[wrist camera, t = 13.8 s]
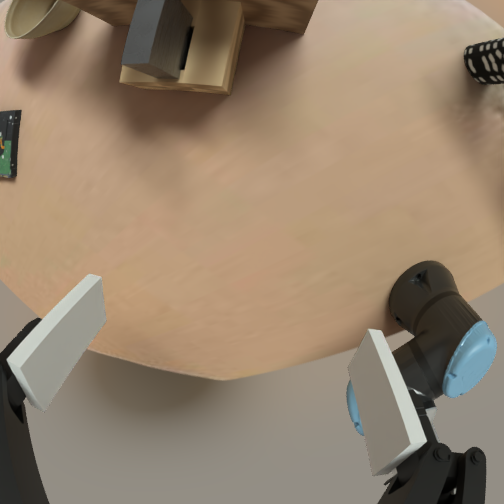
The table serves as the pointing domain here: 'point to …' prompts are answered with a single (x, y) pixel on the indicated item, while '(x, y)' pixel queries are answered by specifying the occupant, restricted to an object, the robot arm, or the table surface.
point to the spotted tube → (486, 61)
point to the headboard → (208, 37)
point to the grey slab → (158, 38)
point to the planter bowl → (37, 18)
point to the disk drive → (9, 142)
